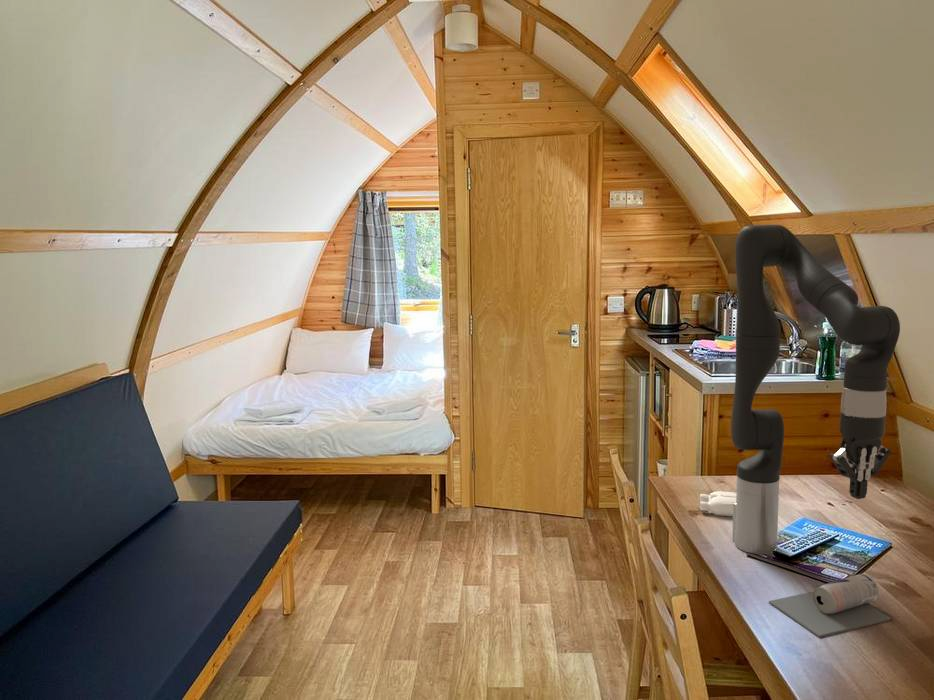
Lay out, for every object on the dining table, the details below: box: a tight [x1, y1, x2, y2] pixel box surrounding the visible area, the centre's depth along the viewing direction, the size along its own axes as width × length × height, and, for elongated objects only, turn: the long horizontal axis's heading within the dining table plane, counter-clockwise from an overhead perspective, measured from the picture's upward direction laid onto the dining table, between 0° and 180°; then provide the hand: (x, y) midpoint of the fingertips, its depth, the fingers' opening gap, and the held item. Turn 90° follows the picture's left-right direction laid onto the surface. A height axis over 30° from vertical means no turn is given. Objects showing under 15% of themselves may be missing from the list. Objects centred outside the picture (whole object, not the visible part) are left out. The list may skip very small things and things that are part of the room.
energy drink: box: [812, 573, 880, 614], centre depth 135 cm, size 5×5×12 cm
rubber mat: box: [768, 591, 892, 638], centre depth 135 cm, size 13×17×1 cm
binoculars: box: [699, 491, 736, 518], centre depth 184 cm, size 10×16×5 cm, turn 72°
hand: (857, 497), depth 134 cm, fingers closed
